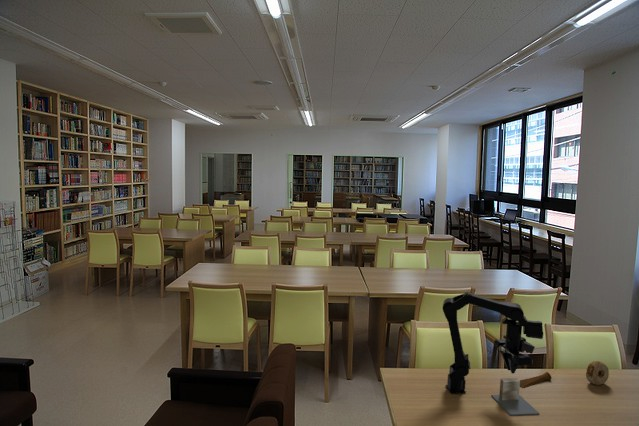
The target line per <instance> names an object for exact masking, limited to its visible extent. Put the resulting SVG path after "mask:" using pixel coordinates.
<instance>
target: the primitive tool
mask: <svg viewBox="0 0 639 426" xmlns="http://www.w3.org/2000/svg"><path fill="white" fill-rule="evenodd" d="M518 380H519V381H520V389H525V388H527V387H530V386H533V385H535V384H539V383H541V382H543V381H551V380H552V375H551V374H550V373H549V372H548V371H546V372H544V373H543V374H541V375H538V376H533V377H529V378H525V379H518Z"/></svg>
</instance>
